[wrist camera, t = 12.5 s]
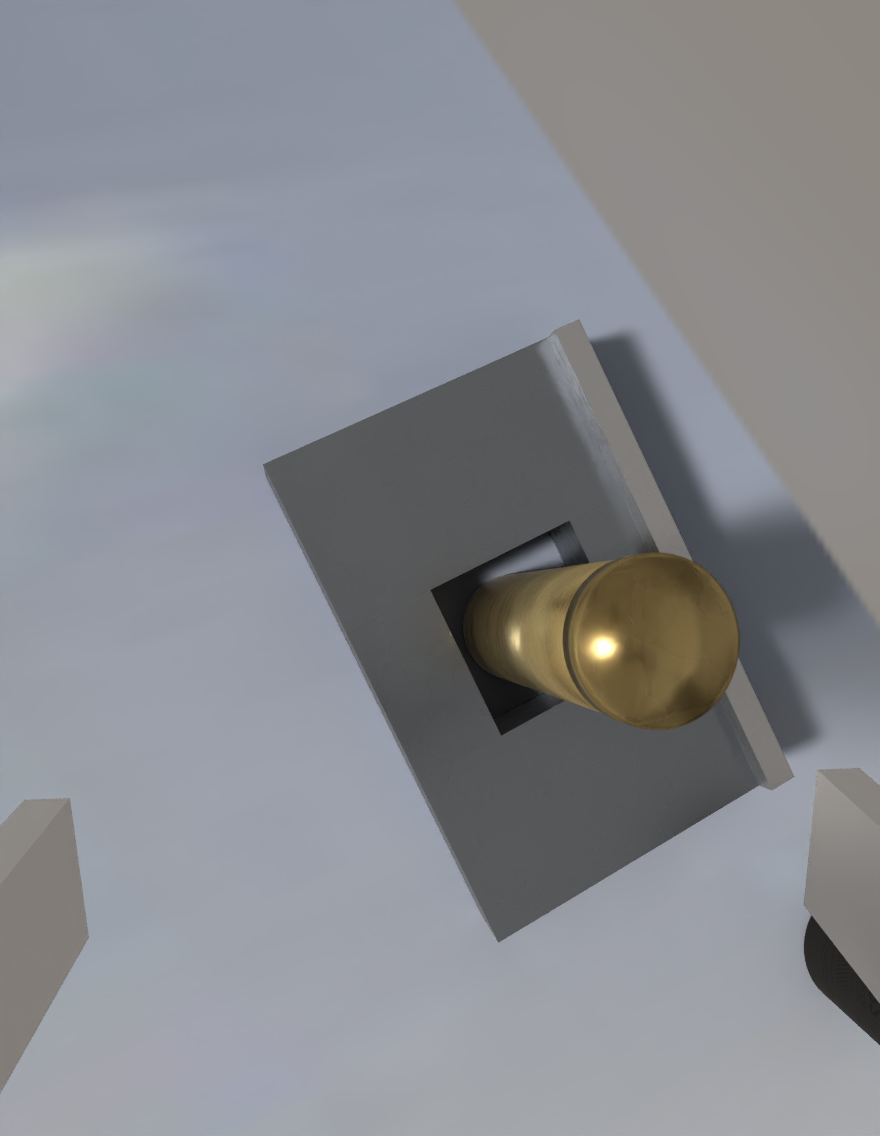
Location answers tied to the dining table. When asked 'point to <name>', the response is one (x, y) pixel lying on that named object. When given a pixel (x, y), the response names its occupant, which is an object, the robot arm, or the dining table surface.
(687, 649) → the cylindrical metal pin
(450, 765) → the jig
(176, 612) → the dining table surface
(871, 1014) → the black tumbler with straw
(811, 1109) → the dining table surface
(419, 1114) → the dining table surface
